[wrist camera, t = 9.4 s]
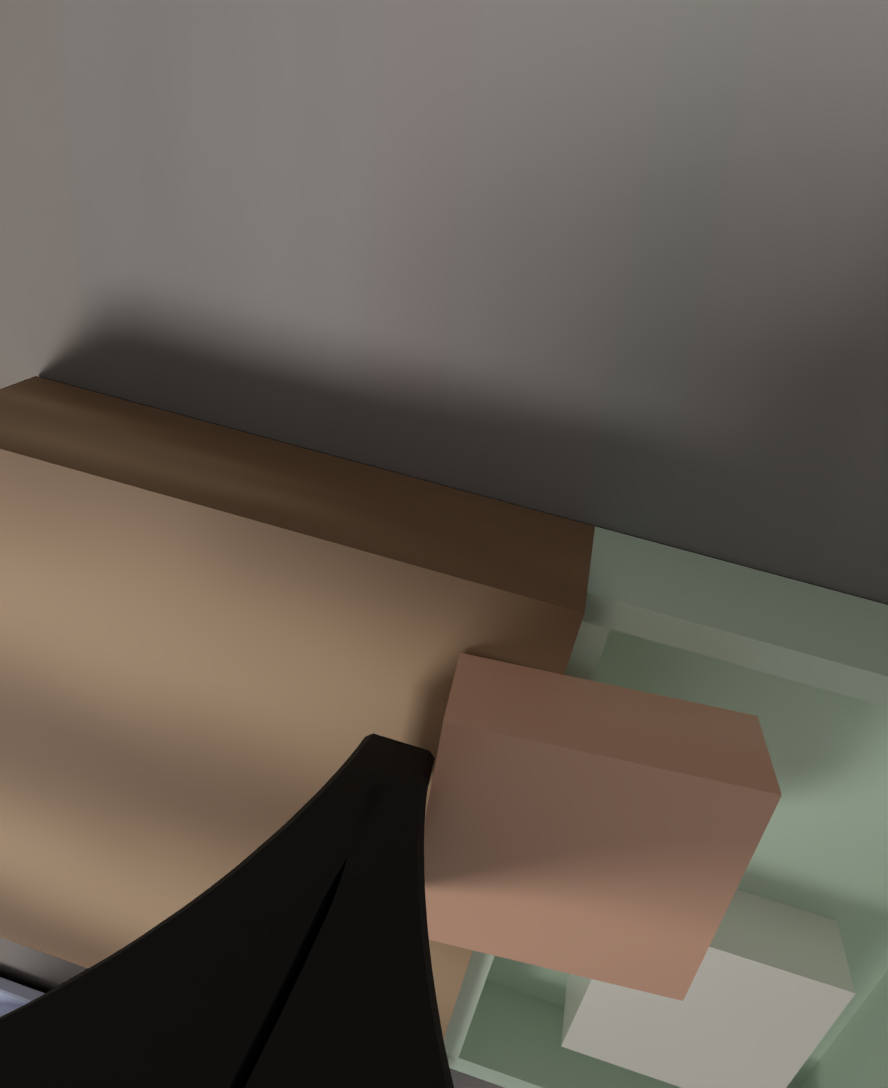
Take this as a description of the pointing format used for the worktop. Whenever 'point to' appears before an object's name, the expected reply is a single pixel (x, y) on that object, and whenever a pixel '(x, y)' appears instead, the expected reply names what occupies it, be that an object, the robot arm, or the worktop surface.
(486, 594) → the walnut board
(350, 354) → the worktop surface
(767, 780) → the terracotta tile
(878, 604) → the tray
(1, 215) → the worktop surface
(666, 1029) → the cream tile
